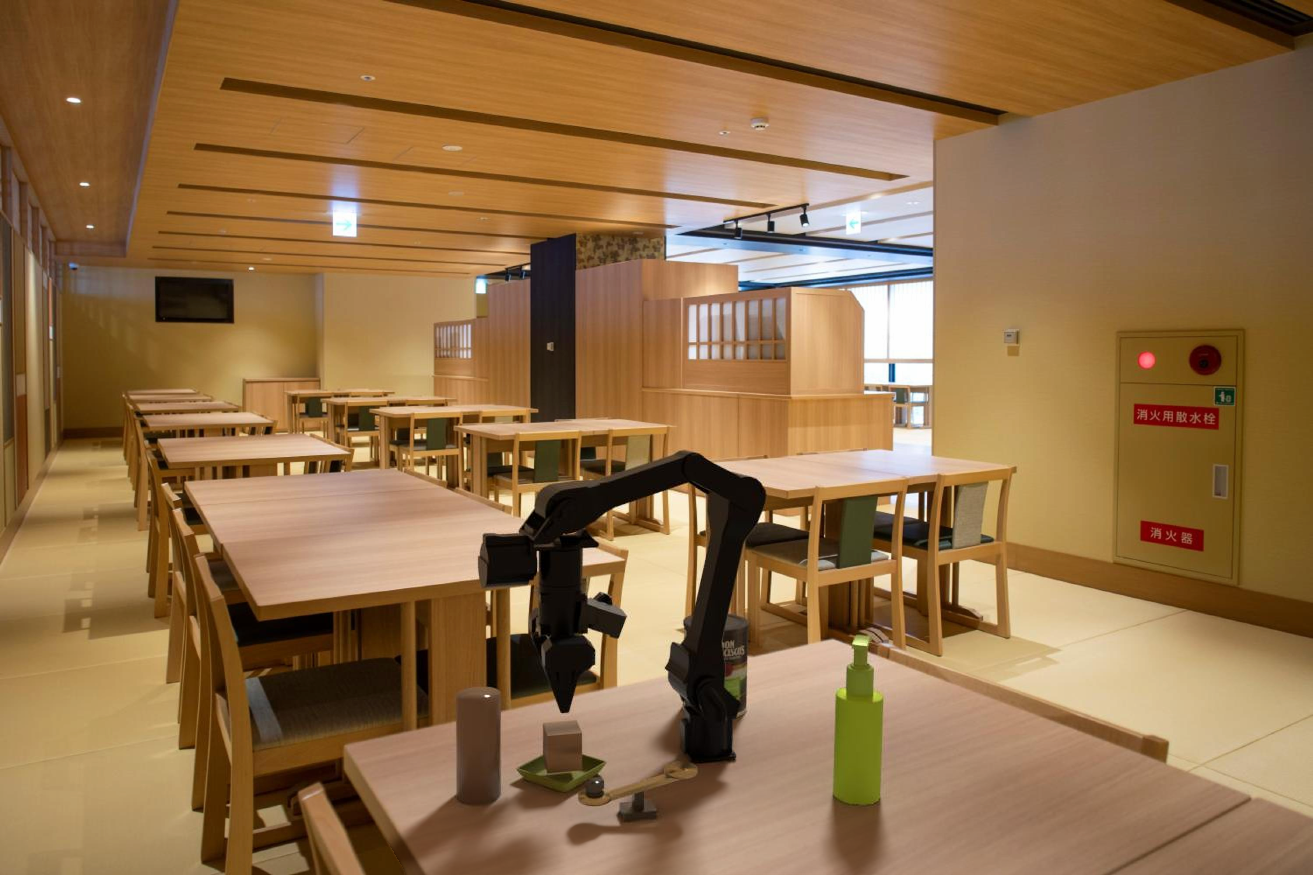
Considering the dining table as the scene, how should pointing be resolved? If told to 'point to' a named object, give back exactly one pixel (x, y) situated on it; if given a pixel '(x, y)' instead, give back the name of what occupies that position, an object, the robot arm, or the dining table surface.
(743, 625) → the coffee can
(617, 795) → the balance
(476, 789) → the brown cylinder
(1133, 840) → the dining table surface
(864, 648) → the soap dispenser
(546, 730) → the block
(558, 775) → the green square dish
